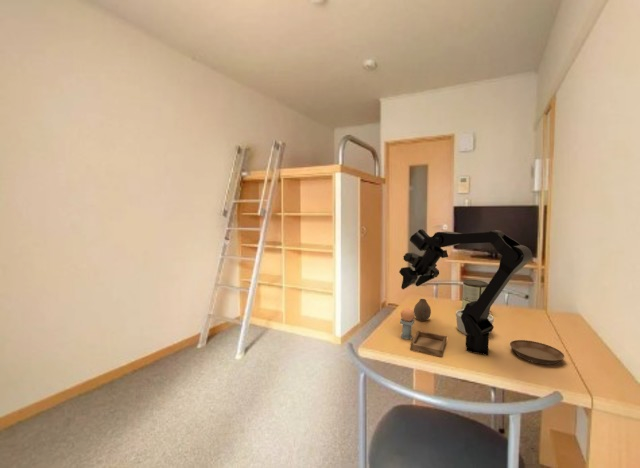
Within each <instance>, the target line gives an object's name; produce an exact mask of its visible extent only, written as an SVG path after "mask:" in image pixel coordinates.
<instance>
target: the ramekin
mask: <svg viewBox="0 0 640 468" xmlns="http://www.w3.org/2000/svg"><path fill="white" fill-rule="evenodd" d="M463 310H464V309H462V308H461V309H458V310H456V312H455V317H456V327H457V329H458V331H460V333H462V334H464V335H466V334H467V333H466V331H465V327H464V324H463V322H462V319H461V315H462V313H461V311H463ZM488 320H489V321H490V322H491V324H492V325H493V324H494V316H493V315H492V314H491V313H489V316H488ZM490 334H491V332H489V335H490Z"/></svg>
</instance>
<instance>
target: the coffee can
mask: <svg viewBox="0 0 640 468" xmlns="http://www.w3.org/2000/svg"><path fill="white" fill-rule="evenodd" d="M462 283H463V285H462V300H461V301H462V303H461V310H462V309H464V308H465V306H466V304H467V303H470V302H473V301H477V300H478V298H479V297H480V295H481V294H482V293H483V291H484V290H485V288H486V287H487V285H488V284H489V282H487V281H483V280H479V279H464V280H463V281H462Z"/></svg>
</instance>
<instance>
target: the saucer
mask: <svg viewBox="0 0 640 468" xmlns="http://www.w3.org/2000/svg"><path fill="white" fill-rule="evenodd" d="M509 346H510V348H511V349H512V350H513V352H514V353H515V354H516V355H517V356H518V357H521V358H522V359H524V360H526V361H528V360H529V362H531V361H532V362H531V363H536V364H539V363H540V364H541V365H542V364H543V365H554V364H557V363H559V362H561V361H562V360H563V359H564V358H565V355H564V353H563V352H562V351H561V350H559V349H557V348H556V347H554V346H551V345H548V344H546V343H542V342H539V341H534V340H525V339H517V340H516V339H515V340H512V341H511V342H510V343H509Z"/></svg>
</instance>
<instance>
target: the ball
mask: <svg viewBox="0 0 640 468" xmlns="http://www.w3.org/2000/svg"><path fill="white" fill-rule="evenodd" d="M400 318H402V319H403V320H404V321H408V322H410V321H412V320H413V319H415V318H416V317H415V313H414V309H412V308H410V307H404V308H403V309H402V310H401V312H400Z"/></svg>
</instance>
